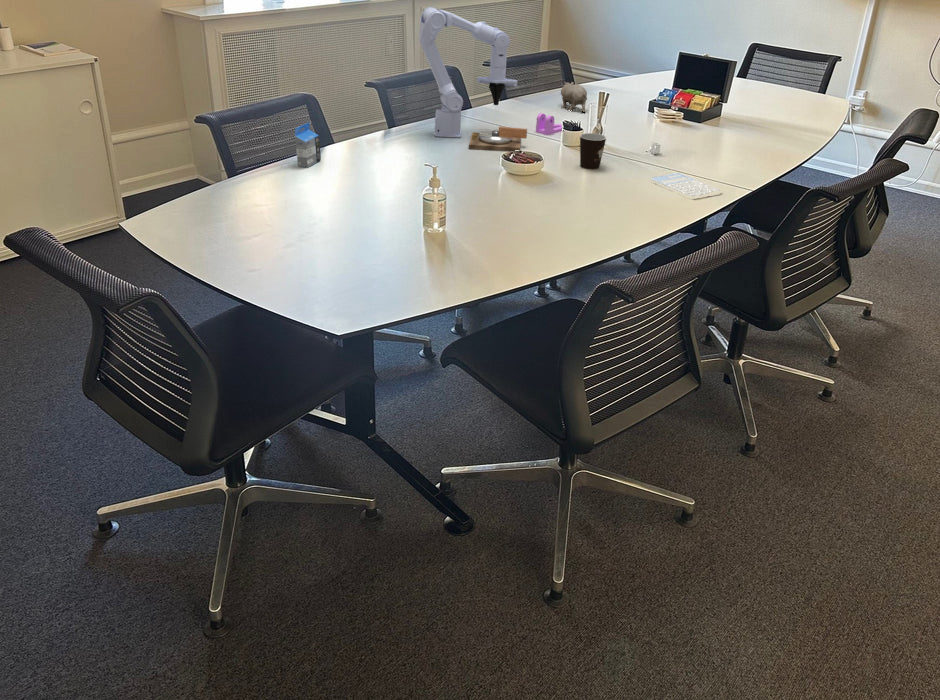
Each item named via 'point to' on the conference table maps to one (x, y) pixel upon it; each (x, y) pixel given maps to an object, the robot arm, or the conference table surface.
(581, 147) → the coffee mug
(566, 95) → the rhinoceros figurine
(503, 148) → the stand
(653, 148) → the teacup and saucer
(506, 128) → the dial
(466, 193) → the conference table surface
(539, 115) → the bracket
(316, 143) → the label tape box
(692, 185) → the calculator
